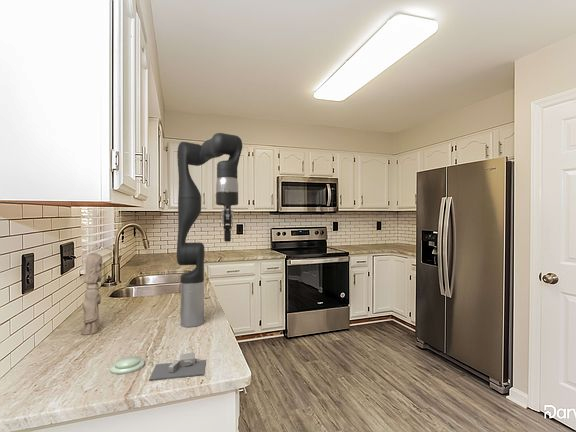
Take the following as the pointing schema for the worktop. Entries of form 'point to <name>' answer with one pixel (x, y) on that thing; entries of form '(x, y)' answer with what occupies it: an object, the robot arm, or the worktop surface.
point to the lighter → (182, 362)
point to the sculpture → (92, 294)
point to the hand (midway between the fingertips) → (227, 241)
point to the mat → (177, 371)
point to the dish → (127, 365)
